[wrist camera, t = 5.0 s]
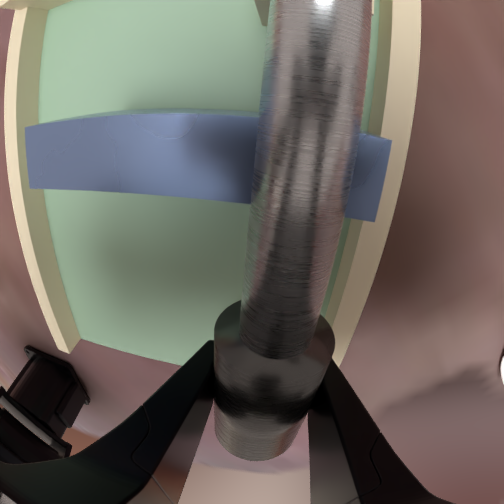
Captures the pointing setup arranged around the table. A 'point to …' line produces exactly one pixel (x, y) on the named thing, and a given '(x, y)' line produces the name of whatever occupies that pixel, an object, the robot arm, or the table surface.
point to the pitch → (168, 207)
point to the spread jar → (502, 369)
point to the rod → (254, 202)
